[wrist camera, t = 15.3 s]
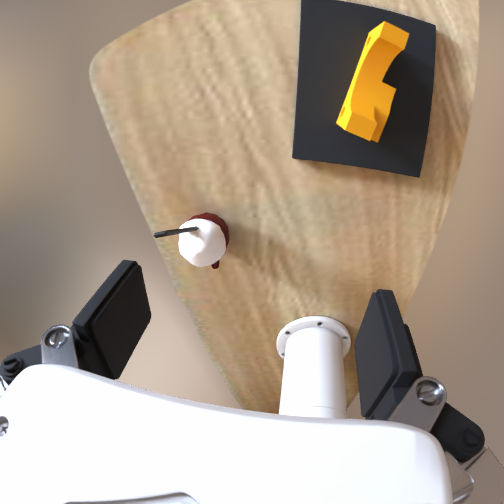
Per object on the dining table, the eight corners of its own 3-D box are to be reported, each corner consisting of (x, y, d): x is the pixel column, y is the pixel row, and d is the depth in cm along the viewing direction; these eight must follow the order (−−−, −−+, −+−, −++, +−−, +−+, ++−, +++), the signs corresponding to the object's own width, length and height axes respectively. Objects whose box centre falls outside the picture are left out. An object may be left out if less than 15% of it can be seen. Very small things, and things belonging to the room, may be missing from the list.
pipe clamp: (370, 137, 30) (386, 148, 25) (336, 123, 30) (345, 130, 25) (403, 49, 24) (425, 42, 18) (369, 32, 24) (384, 21, 18)
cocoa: (230, 258, 42) (209, 315, 32) (188, 250, 43) (156, 304, 32) (236, 194, 37) (211, 240, 27) (189, 188, 38) (149, 229, 28)
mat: (417, 176, 32) (419, 177, 31) (292, 156, 34) (292, 158, 33) (433, 26, 22) (435, 25, 21) (301, -2, 23) (301, -4, 23)
